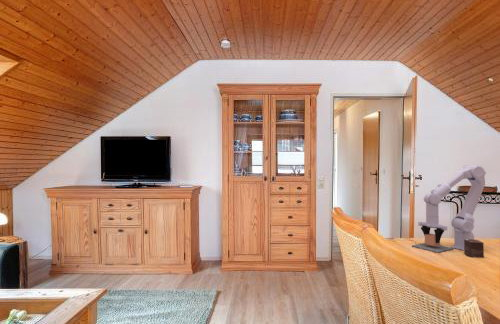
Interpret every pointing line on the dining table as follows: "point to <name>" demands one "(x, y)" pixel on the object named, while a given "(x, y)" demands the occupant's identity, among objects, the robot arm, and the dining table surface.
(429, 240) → the cube
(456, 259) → the dining table surface
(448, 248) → the mat
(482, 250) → the box
